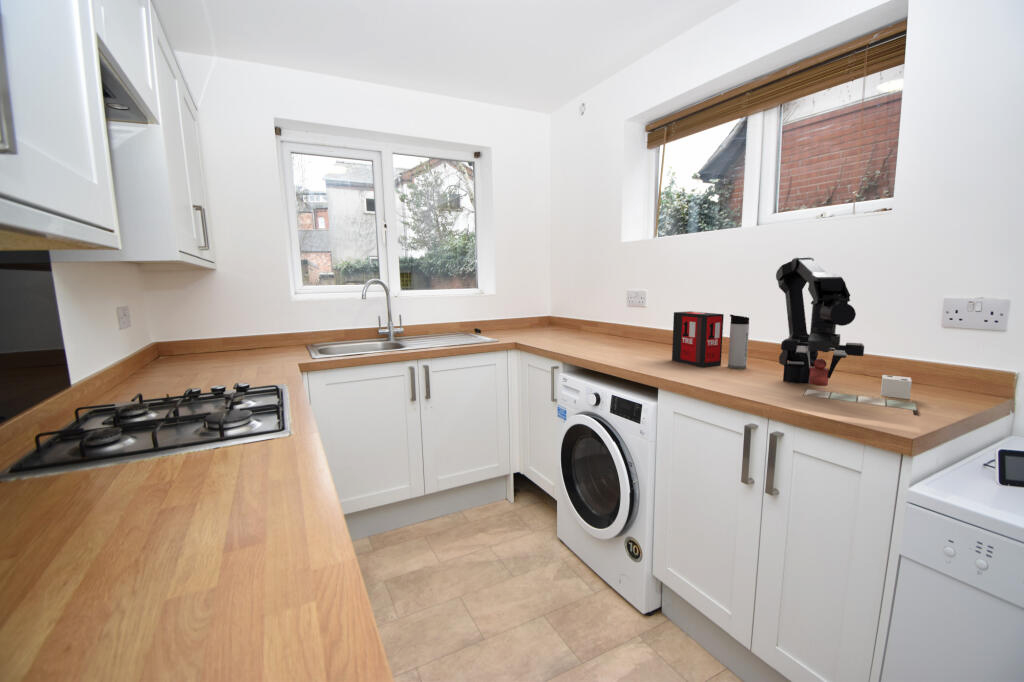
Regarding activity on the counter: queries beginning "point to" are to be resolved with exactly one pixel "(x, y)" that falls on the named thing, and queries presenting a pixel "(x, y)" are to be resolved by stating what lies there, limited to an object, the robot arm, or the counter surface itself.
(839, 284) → the robot arm
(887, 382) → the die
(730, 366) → the travel mug
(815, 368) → the pawn
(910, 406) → the board
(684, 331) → the cleaning product box
